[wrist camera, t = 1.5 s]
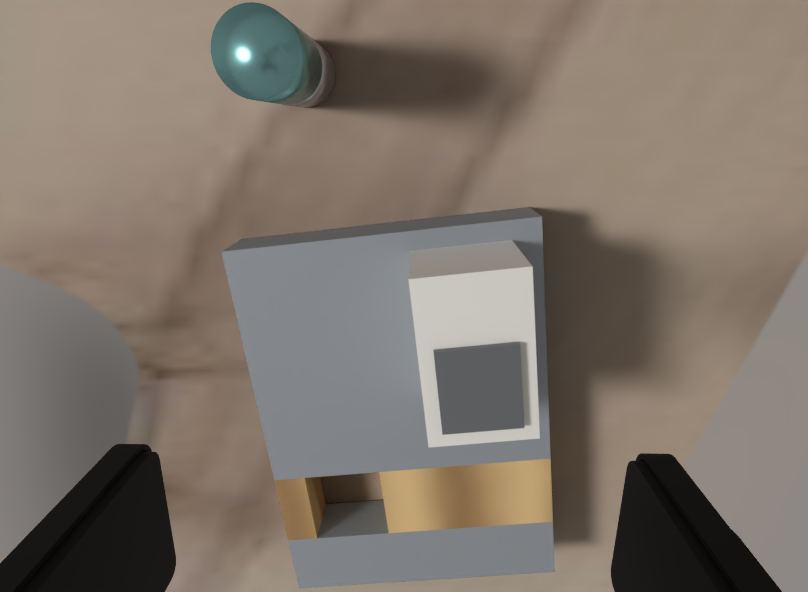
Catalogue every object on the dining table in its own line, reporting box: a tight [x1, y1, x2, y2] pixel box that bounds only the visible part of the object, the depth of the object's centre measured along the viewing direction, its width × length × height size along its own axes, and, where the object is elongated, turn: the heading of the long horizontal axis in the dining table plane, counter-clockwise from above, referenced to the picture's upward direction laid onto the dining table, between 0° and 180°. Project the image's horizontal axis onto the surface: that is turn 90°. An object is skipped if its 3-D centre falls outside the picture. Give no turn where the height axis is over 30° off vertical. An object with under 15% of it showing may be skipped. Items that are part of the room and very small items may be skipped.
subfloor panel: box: [222, 207, 555, 588], centre depth 30 cm, size 16×22×3 cm
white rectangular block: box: [408, 240, 540, 448], centre depth 24 cm, size 5×8×5 cm, turn 7°
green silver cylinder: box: [211, 2, 335, 108], centre depth 22 cm, size 3×3×8 cm
